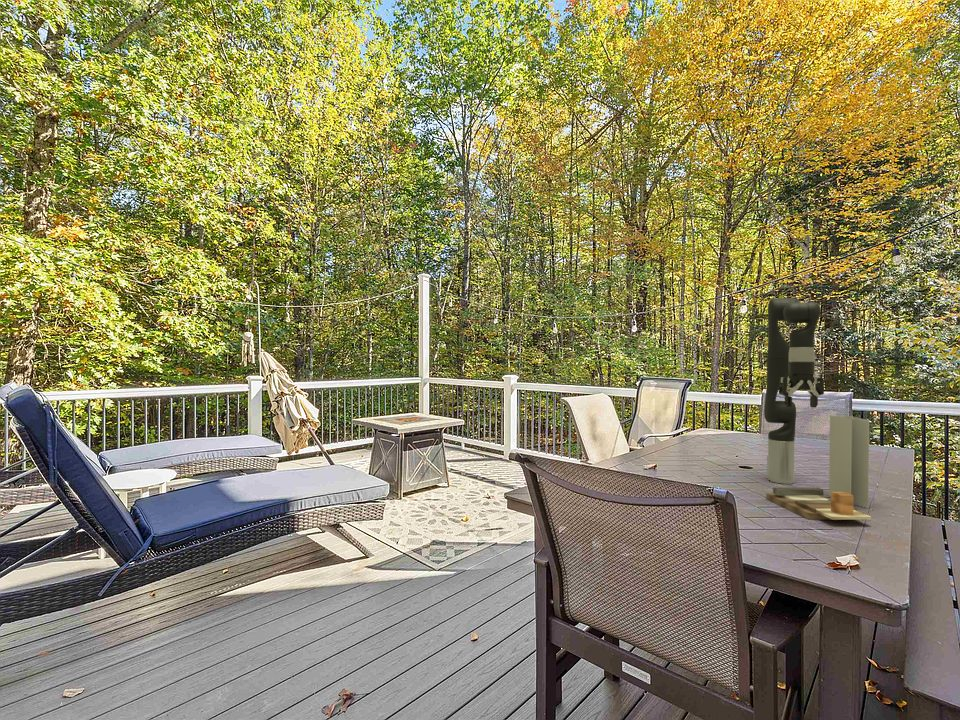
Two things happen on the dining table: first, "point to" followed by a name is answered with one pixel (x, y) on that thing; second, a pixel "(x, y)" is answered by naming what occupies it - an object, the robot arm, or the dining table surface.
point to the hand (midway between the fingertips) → (801, 407)
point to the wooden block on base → (842, 508)
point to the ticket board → (801, 500)
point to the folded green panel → (849, 458)
